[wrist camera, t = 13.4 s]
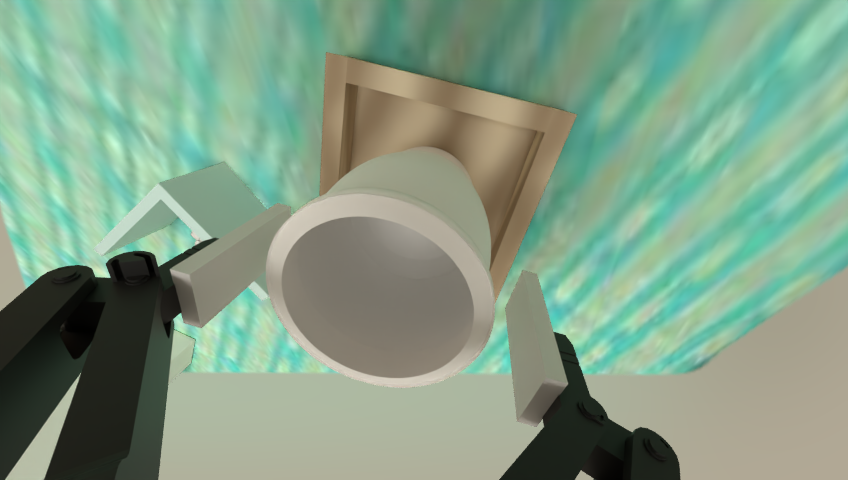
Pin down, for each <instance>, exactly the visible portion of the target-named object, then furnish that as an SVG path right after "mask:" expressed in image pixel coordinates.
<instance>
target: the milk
mask: <svg viewBox="0 0 848 480" xmlns="http://www.w3.org/2000/svg"><path fill="white" fill-rule="evenodd" d="M194 343H195V339H193V338H191V337H189V336H187V335H185V334H182V333H180V332H178V331H176V330H174V334H173V343H172V353H171V362H170V372H169V381H168V385H169V384H170V383H171V382H172V381H173V380H174V379H175V378H176V377H177V376H178V375H179V374H180V373H181V372H182V371H183V370H184V369H185V368H186V367H187V366H188V365H189V364H190V363H191V361H192V355H193V349H194ZM79 378H80V377H79ZM79 378H78V379H76V380H75V382H74V383H73V384H72V386H71V387H70V389H69V390H68V391H67V393H66V394H65V396H64V397H63V399H62V400H61V401H60V403H59V404H58V406H57V407H56V408H55V410H54V411H53V413H52V414H51V416H50V417H49V418H48V420H47V421H46V423H45V424H44V425H43V427H42V428H41V430H40V431H39V432H38V434H37V435H36V437H35V438H34V440H33V441H32V442H31V444H30V445H29V447H28V448H27V449H26V451H25V452H24V454H23V455H22V457H21V458H20V459H19V461H18V462H17V464H16V465H15V466H14V468H13V469H12V471H11V472H10V474H9V475H8V476H7V478H6V479H5V480H44V478H45V475H46V472H47V470H48V467H49V464H50V461H51V458H52V455H53V452H54V450H55V447H56V444H57V441H58V438H59V435H60V432H61V429H62V427H63V424H64V421H65V418H66V415H67V412H68V409H69V407H70V404H71V401H72V398H73V395H74V392H75V389H76V386H77V384H78V381H79Z"/></svg>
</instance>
